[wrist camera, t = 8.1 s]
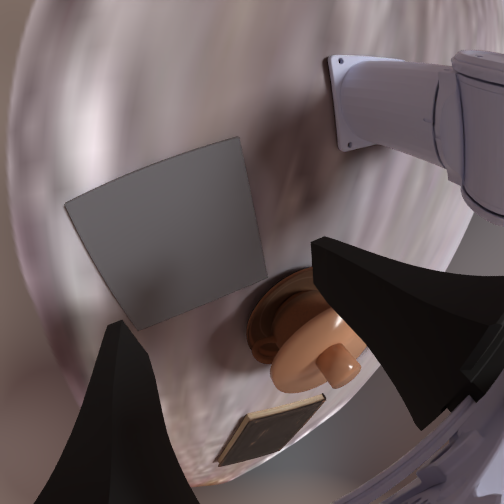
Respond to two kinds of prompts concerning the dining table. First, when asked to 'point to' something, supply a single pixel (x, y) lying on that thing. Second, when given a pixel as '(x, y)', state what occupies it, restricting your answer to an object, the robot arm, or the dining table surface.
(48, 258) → the dining table surface
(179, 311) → the coaster
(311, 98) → the dining table surface
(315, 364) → the lid
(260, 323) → the cup and saucer
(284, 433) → the hardcover book
